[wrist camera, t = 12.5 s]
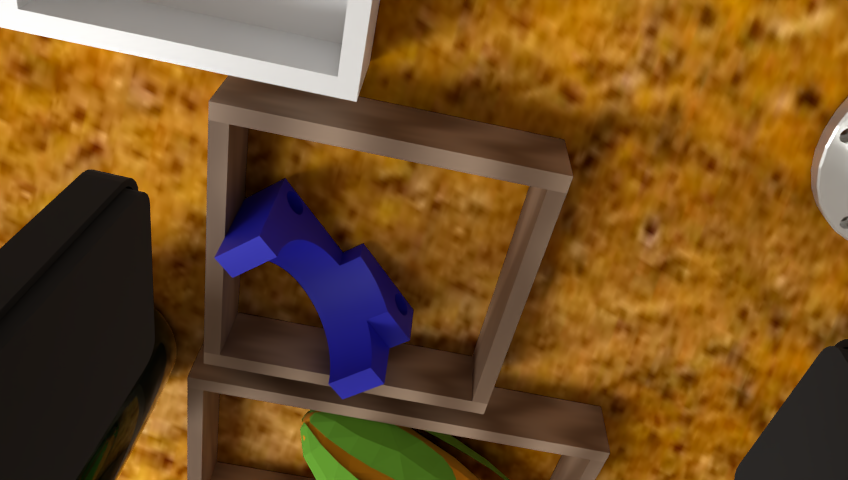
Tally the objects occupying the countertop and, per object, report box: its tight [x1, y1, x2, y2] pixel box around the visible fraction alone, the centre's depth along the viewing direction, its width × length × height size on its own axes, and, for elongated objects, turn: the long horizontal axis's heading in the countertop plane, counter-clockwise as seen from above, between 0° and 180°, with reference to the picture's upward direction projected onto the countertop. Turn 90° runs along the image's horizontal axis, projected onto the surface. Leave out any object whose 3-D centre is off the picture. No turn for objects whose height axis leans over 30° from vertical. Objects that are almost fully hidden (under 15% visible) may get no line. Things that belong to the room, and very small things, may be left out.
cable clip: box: [214, 178, 413, 400], centre depth 41 cm, size 12×4×6 cm, turn 30°
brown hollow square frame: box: [204, 75, 573, 414], centre depth 40 cm, size 18×18×4 cm
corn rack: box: [188, 342, 610, 480], centre depth 51 cm, size 28×15×4 cm, turn 79°
